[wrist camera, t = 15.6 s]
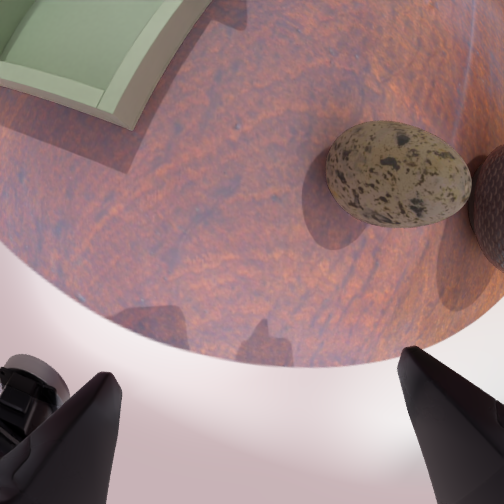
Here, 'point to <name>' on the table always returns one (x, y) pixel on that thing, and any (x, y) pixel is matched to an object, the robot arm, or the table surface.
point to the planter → (489, 207)
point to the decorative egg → (396, 175)
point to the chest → (93, 51)
